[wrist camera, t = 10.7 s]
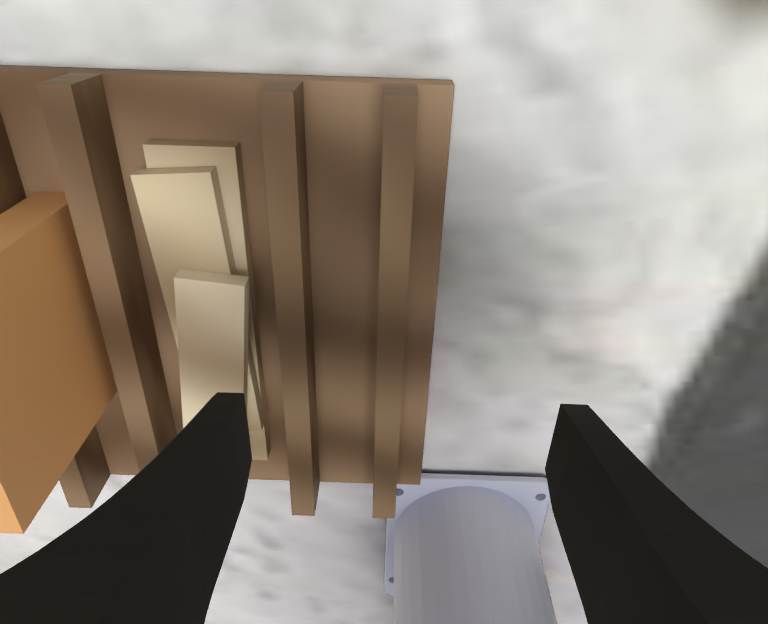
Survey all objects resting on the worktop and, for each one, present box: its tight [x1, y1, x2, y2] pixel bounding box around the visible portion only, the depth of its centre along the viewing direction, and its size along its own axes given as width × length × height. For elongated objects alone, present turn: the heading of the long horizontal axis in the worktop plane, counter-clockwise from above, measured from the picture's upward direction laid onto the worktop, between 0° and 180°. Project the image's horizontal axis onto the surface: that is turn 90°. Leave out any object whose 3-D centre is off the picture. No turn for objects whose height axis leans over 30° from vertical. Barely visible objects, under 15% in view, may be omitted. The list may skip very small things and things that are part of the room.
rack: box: [0, 65, 455, 518], centre depth 22 cm, size 18×16×3 cm
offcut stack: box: [130, 139, 271, 460], centre depth 22 cm, size 14×4×2 cm, turn 178°
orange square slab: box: [0, 191, 118, 534], centre depth 19 cm, size 8×2×8 cm, turn 178°
